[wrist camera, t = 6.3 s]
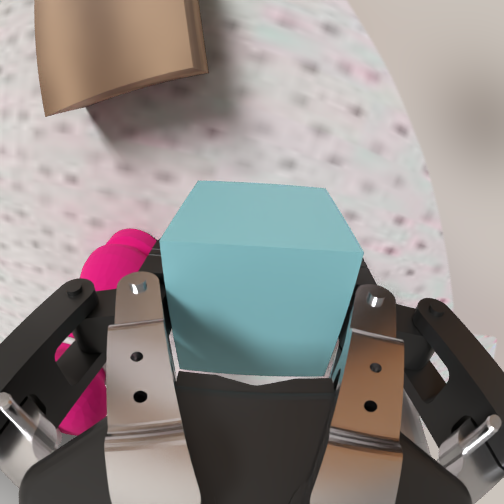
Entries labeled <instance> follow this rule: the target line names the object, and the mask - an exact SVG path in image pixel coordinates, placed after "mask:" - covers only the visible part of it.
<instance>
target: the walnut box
mask: <svg viewBox="0 0 504 504" xmlns="http://www.w3.org/2000/svg"><path fill="white" fill-rule="evenodd" d="M34 14H35V41H36V54H37V65H38V73H39V81H40V88H41V95H42V101H43V106H44V112H45V117H47V116H51V115H54V114H58V113H62V112H66V111H70V110H75V109H79V108H84V107H87V106H90V105H92V104H95V103H98V102H100V101H103V100H106V99H109V98H112V97H115V96H118V95H121V94H124V93H127V92H131V91H134V90H137V89H141V88H144V87H148V86H152V85H155V84H159V83H163V82H167V81H172V80H176V79H180V78H185V77H190V76H195V75H200V74H205V73H209V72H208V65H207V58H206V51H205V44H204V37H203V30H202V23H201V16H200V9H199V2H198V0H35V5H34Z"/></svg>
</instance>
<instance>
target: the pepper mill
mask: <svg viewBox="0 0 504 504" xmlns="http://www.w3.org/2000/svg"><path fill="white" fill-rule="evenodd" d="M155 243H156V240H155V239H154V238H153V237H152V236H150V235H149V234H147V233H145V232H143V231H141V230H137V229H124V230H120V231H118V232H117V233H115V234H114V235H113V236H112V237H111V239H110V240H109V241H108V242H107V243H106V245H104V246H101V247H99V248H98V249H96V250H95V251H94V252H93V253H92V254H91V255H90V256H89V258H88V259H87V261H86V262H85V264H84V266H83V269H82V272H81V276H80V278H84V279H88V280H90V281H92V282H93V284H94V287H95V290H96V291H101V290H110V289H116V288H117V284H118V282H119V281H120V280H121V279H122V278H123V277H124V276H126V275H128V274H130V273H134V272H138V271H139V269H140V267H141V266H142V264H143V262H144V261H145V259H146V257H147V256H148V255H149V253H150V251H151V249H152V248H153V246H154V244H155ZM74 341H75V338H74V336H73V334H72V333H71V334H70V335H69V336H68V337H67V338H66V339H65V340H64V341H63V342H62V344H61V345H60V346H59V347H58V348H57V350H56V353H55V361H57V360H58V359H59V358H60V357H61V355H62V354H63V353H64V352H65V351H66V350H67V349H68V347H69V346H70V345H71V344H72V343H73V342H74ZM106 363H107V362H106ZM106 363H105V364H104V366H103V367H102V368H101V370H100V371H99V372H98V373H97V375H96V376H95V377H94V379H93V380H92V381H91V383H90V384H89V385H88V387H87V388H86V389H85V391H84V392H83V393H82V395H81V396H80V397H79V399H78V400H77V402H76V403H75V404H74V406H73V407H72V408H71V410H70V411H69V413H68V414H67V415H66V417H65V418H64V419H63V421H62V422H61V424H60V425H59V426H58V428H57V429H56V432H57V440H56V443H57V445H58V446H59V445H60V443H61V439H62V436H61V432H62V433H65V434H70V435H77V436H78V435H80V434H81V433H83V432H84V431H86V430H87V429H89V428H90V427H92V426H93V425H95V424H96V423H97V422H99V421H100V420H102V419H103V418H105V417H106V415H107V394H106V386H105V385H106Z"/></svg>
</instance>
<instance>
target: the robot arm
mask: <svg viewBox="0 0 504 504" xmlns="http://www.w3.org/2000/svg"><path fill="white" fill-rule="evenodd" d="M160 239H161V238H160ZM160 239H159V240H157V241H156V243H155V244H154V246H153V248H152V249H151V251H150V253H149V255H148V256H147V257H146V259H145V261H144V262H143V264H142V266H141V267H140V269H139V271H138V272H134V273H130V274H128V275H126V276H124V277H123V278H122V279H121V280H120V281H119V282H118V284H117V288H116V289H110V290H101V291H96V290H95V287H94V284H93V282H92V281H90V280H88V279H84V278H79V279H74V280H71V281H68V282H66V283H65V284H63V285H62V286H61V287H60V288H59V289H57V290H56V291H55V292H54V293H53V294H52V295H51V296H50V297H49V298H47V299H46V300H45V301H44V302H43V303H42V304H41V305H40V306H39V307H38V308H37V309H35V310H34V311H33V312H32V313H31V314H30V315H29V316H28V317H27V318H26V319H25V320H24V321H23V322H22V323H21V324H20V325H19V326H18V327H17V328H16V329H15V330H14V331H13V332H12V333H11V334H10V335H9V336H8V337H7V338H6V339H5V340H4V341H3V342H2V343H1V344H0V470H1V471H2V472H3V473H4V474H5V475H6V476H7V477H8V478H9V479H10V480H11V481H12V482H13V483H14V484H15V485H16V486H17V487H18V488H19V504H475V503H476V502H477V501H478V500H479V499H481V498H482V497H483V496H484V495H485V494H486V493H487V492H488V491H489V490H490V489H492V488H493V487H494V486H495V485H496V484H497V483H498V482H499V481H500V480H501V479H502V478H504V372H503V371H502V369H501V368H500V367H499V366H498V364H497V363H496V362H495V361H494V359H493V358H492V357H491V356H490V354H489V353H488V352H487V351H486V350H485V348H484V347H483V346H482V345H481V344H480V342H479V341H478V340H477V339H476V338H475V336H474V335H473V334H472V333H471V332H470V331H469V330H468V328H467V327H466V326H465V325H464V324H463V323H462V322H461V321H460V319H459V318H457V316H456V315H455V314H454V313H453V312H452V311H451V310H450V308H449V307H448V306H447V305H445V304H444V303H442V302H441V301H439V300H436V299H432V298H424V299H422V300H420V301H419V303H418V305H417V307H416V309H415V308H410V307H406V306H402V305H398V304H396V299H395V297H394V295H393V294H392V293H391V292H390V291H389V290H387V289H386V288H384V287H381V286H378V285H377V284H376V282H375V280H374V278H373V277H372V275H371V273H370V271H369V269H368V268H367V265H366V263H365V262H364V259H363V258H362V262H361V265H360V269H359V273H358V276H357V280H356V283H355V286H354V290H353V293H352V296H351V300H350V303H349V306H348V309H347V312H346V316H345V319H344V322H343V325H342V328H341V331H340V333H339V336H338V338H339V344H338V347H337V349H336V353H335V357H334V361H333V365H332V369H331V373H330V377H329V378H318V379H291V380H287V381H282V382H276V383H271V384H265V385H259V386H254V385H249V384H246V383H242V382H238V381H235V380H231V379H228V378H224V377H221V376H218V375H210V374H200V373H191V372H183V371H179V372H178V376H177V377H176V372H175V367H174V361H173V356H172V350H171V345H170V339H169V334H170V331H171V328H172V325H171V320H170V314H169V308H168V301H167V295H166V288H165V281H164V274H163V267H162V259H161V251H160V242H159V241H160ZM71 333H72V334H73V336H74V338H75V341H74V342H73V343H72V344H71V345H70V346H69V347H68V349H67V350H66V351H65V352H64V353H63V354H62V355H61V357H60V358H59V359H58V360H57V361H55V353H56V350H57V348H58V347H59V346H60V345H61V344H62V342H63V341H64V340H65V339H66V338H67V337H68V336H69V335H70V334H71ZM434 352H436V353H437V355H438V356H439V357H440V359H441V360H442V361H443V363H444V364H445V365H446V367H447V368H448V371H449V380H448V382H447V384H446V383H445V381H444V380H443V378H442V377H441V376H440V374H439V373H438V371H437V370H436V368H435V367H434V366H433V364H432V363H431V362H430V358H431V357H432V355H433V353H434ZM106 362H107V363H106ZM105 363H106V394H107V416H106V417H105V418H103V419H102V420H100V421H99V422H97V423H96V424H95V425H93V426H92V427H90V428H89V429H87V430H86V431H84V432H83V433H81V434H80V435H78V436H77V437H75V438H74V439H72V440H71V441H69V442H68V443H66V444H65V445H63V446H61V447H60V448H58V445H57V443H56V440H57V432H56V429H57V428H58V426H59V425H60V424H61V422H62V421H63V419H64V418H65V417H66V415H67V414H68V413H69V411H70V410H71V408H72V407H73V406H74V404H75V403H76V402H77V400H78V399H79V397H80V396H81V395H82V393H83V392H84V391H85V389H86V388H87V387H88V385H89V384H90V383H91V381H92V380H93V379H94V377H95V376H96V375H97V373H98V372H99V371H100V370H101V368H102V367H103V366H104V364H105ZM419 416H421V418H422V420H423V422H424V423H425V425H426V427H427V428H428V430H429V432H430V434H431V435H432V437H433V439H434V440H435V442H436V444H437V446H438V448H439V459H438V460H437V461H436V460H435V459H433V458H432V457H431V455H430V451H429V447H428V444H427V441H426V437H425V434H424V431H423V427H422V424H421V421H420V418H419Z"/></svg>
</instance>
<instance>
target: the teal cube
mask: <svg viewBox="0 0 504 504" xmlns="http://www.w3.org/2000/svg"><path fill="white" fill-rule="evenodd" d="M159 242H160V251H161V259H162V267H163V274H164V281H165V288H166V295H167V301H168V308H169V314H170V320H171V325H172V331H173V336H174V342H175V347H176V352H177V357H178V362H179V367H180V369H185V370H194V371H203V372H214V373H226V374H240V375H259V376H324V374H325V372H326V369H327V367H328V364H329V361H330V359H331V356H332V353H333V350H334V348H335V345H336V342H337V339H338V336H339V333H340V331H341V328H342V325H343V322H344V319H345V316H346V312H347V309H348V306H349V303H350V300H351V296H352V293H353V290H354V286H355V283H356V280H357V276H358V273H359V269H360V265H361V262H362V258H363V254H364V252H363V250H362V248H361V247H360V245H359V243H358V241H357V240H356V238H355V236H354V234H353V233H352V231H351V229H350V228H349V226H348V224H347V222H346V221H345V219H344V217H343V216H342V214H341V213H340V211H339V209H338V208H337V206H336V204H335V203H334V201H333V200H332V198H331V196H330V195H329V193H328V192H327V190H326V188H315V187H304V186H292V185H278V184H263V183H246V182H223V181H198V182H197V183H196V185H195V186H194V188H193V189H192V191H191V192H190V194H189V195H188V197H187V198H186V200H185V201H184V203H183V204H182V206H181V207H180V209H179V210H178V212H177V214H176V215H175V217H174V218H173V220H172V221H171V223H170V225H169V226H168V228H167V229H166V231H165V232H164V234H163V236H162V237H161V239H160V241H159Z"/></svg>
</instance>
